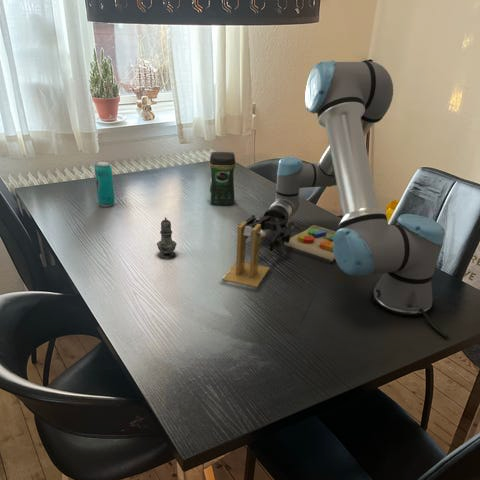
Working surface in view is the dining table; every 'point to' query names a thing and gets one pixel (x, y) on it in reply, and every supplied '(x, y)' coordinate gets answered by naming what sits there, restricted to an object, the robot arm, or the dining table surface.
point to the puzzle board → (315, 242)
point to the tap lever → (249, 233)
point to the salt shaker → (166, 241)
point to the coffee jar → (222, 178)
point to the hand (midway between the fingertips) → (255, 243)
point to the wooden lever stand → (244, 271)
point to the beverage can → (104, 183)
